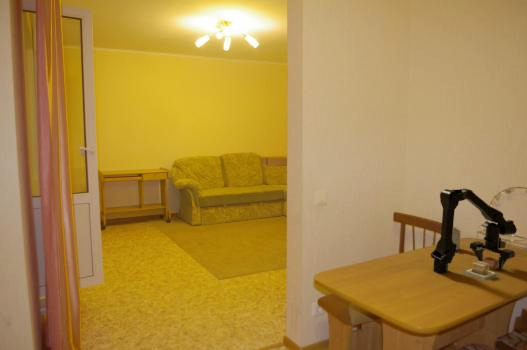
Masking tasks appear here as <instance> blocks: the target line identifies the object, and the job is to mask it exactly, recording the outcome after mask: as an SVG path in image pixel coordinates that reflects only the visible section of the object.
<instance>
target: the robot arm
mask: <svg viewBox="0 0 527 350" xmlns="http://www.w3.org/2000/svg"><path fill="white" fill-rule="evenodd" d="M439 199H440V205H441V207H442V216H441V217H442V219H441V228H440V229H441V230H440V231H441V232H440V238H439V240H438V241H437V242H436V247H435V249H434V250H433V251H431V253H430V257H431V259H433V272H434V273H437V274H448V271H449V264H451V263H452V261H453V259H454V257H455V255H456V254H457V253H458V252H457V250H456V247H457V244H455V243H453V241H452V235H453V227H454V220H455V210H456V208H457V207H458V206H459V203H460V202H463V201H465V200H467V202H469V203H470V204H471V205H472V206H474V207H475V208H476V209H478V210H479V212H480V214H481V215H482V216H483V218H484V219H485V220H487V221H484V222H483V223H482V224H481V226H482V227H484V228H485V236H484V237H483V240H484V242H481V241H472V242H470V244H469V249H471V251H472V252H473V253H474V254H475V256H476V258H477V261H481V262H483V259H484V257H483V256H484V254H483V253H484V251H489V252H491V253H495V254H499V256H498V260H499V268H498V269H499V271H501V270H502V269H503V267H504V265H505V264H506V262H507V261H508V260H510V259H512V258H515V257H516V252H515V251H514V250H513V249H512V250H511V249H509V248H506V246H507V245H506V244H507V242H506V241H504V240H502V238H501V237H500V235H501V236H509V235H516V233H517V231H518V229H517V226H516V225H515V223H514V220H511V219H508V220H506V218H505V217H504V213H503V212H502V211H501V210H498V209H496V208H494V207H493V206H491V205H489V204H488V203H487V202H485V201H484V200H483V199H482V198H481V197H479V195H477V194H476V193H475V192H474V191H473V190H472V189H469V188H460V189H447V188H446V189H442V191H440V194H439Z"/></svg>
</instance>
